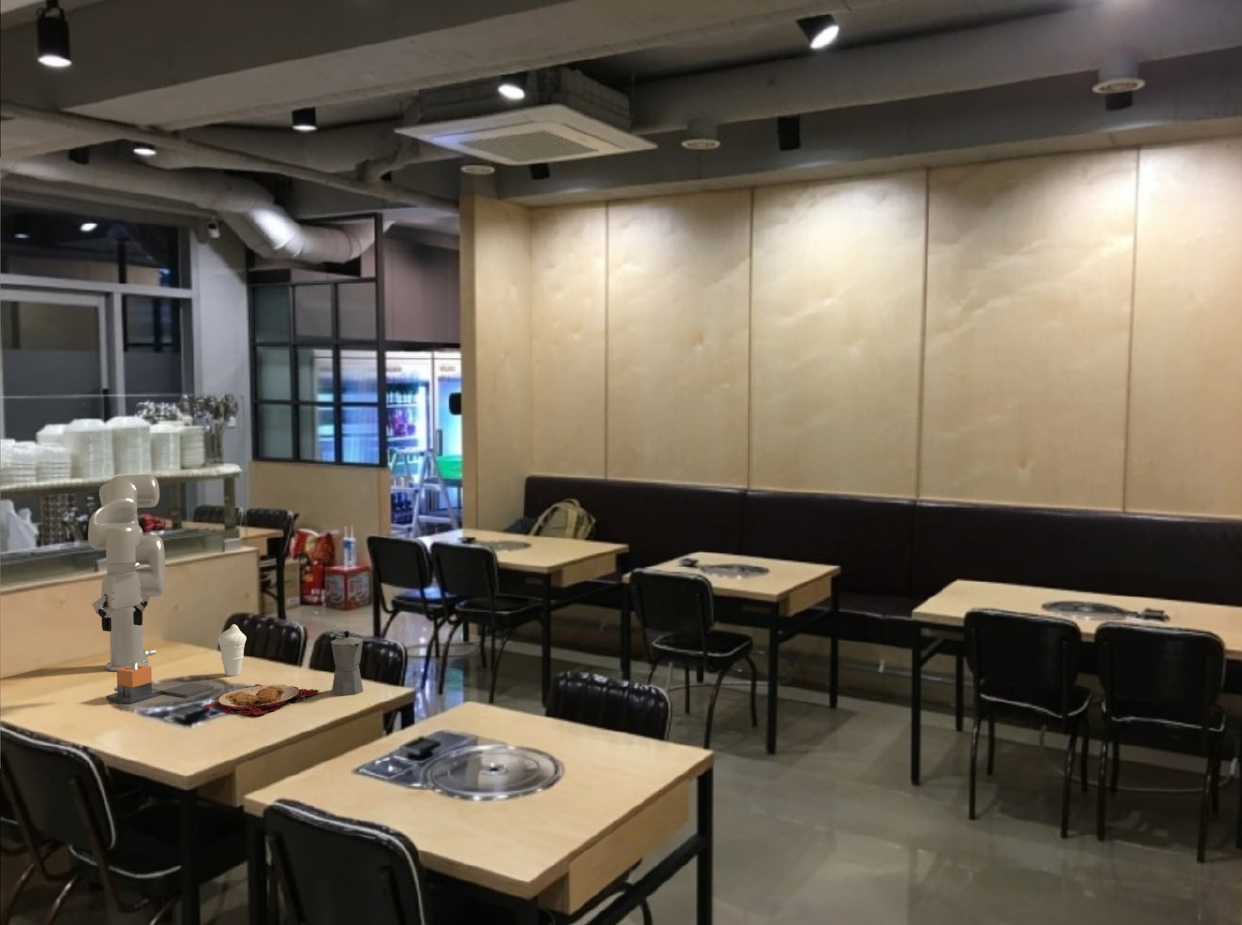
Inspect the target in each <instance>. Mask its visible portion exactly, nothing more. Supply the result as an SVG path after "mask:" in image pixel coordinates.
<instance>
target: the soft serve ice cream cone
mask: <svg viewBox="0 0 1242 925" xmlns="http://www.w3.org/2000/svg"><path fill="white" fill-rule="evenodd" d="M217 641H218V645H219V649H220V655H221V656H220V657H221V658H220V659H221V661H222V665H223V669H224V674H225V676H226V677H235V676H238V675H240V674H241V671H242V665H243V659H244V653H245V652H244V651H245V644H246V641H247V636H246V635H245V634H244V633H243V632H242V631H241V630H240V628H239V627H238V625H236V624H232V625H231V626H229V628H228V629H226V630H225V631H223V632H222V633H220V635H219V637H218V639H217Z"/></svg>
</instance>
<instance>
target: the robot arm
mask: <svg viewBox="0 0 1242 925" xmlns="http://www.w3.org/2000/svg"><path fill="white" fill-rule="evenodd" d="M98 491H99V494H98V495H99V500H100V504H101V506H100V507H99V508H98V509H96V511H94V512H93V513H92V515H91V517H90V518H89V522H88V532H87V534H88V535H87V539H88V544H89V545H90V547H91V548H92V549H94V550H99V551H100V550H106V551H105V552H106V555H105V556H106V557H105V558H106V574H103V577H102V578H103V579H102V583H101V592H100V597H99V598H98V599H97V600H96V601H94V602H93V603H92V605H91V606H92V607H93V609H94V610H95V613H96V614H97V615H98V616H99V617H100V618H101V628H102V630H101V631H103V632H109V646H110V647H109V649H110V651H109V652H110V653H109V654H110V657H109V658H110V661H109V662H108V663H106V664H105V669H106V670H107V671H114V672H115V671H116V672H117V669H120V668H124V667H128V666H130V663H132V662H138V665H143V666H148V665H149V659H147V658H148V657H151V656H155V655H156V652H157V651H156V650H155V649H148V650H147V649H144V642H143V641H144V640H143V638H144V637H143V636H144V634H143V632H144V631H143V620H144V619H143V618H144V616H143V614H144V613H143V612H144V611H145V609H146V607H147V606H148V604H149V602H150V601H149V600H150V599H151V598H158V597H161V596H162V595H164V593H165V591H166V564H165V563H166V561H165V560H166V556H165V555H166V554H165V545H164V541H163V539H162V537H160V536H159V535H155V534H153V535H151V534H150V535H149V534H148V535H144V531H143V528H142V527H141V525H139V524H140V523H139V520H138V518H137V516H135V515H136V514H137V511H138V509H140V508H154V507H155V506H157V505H158V504H159V501H160V484H159V481H158V480H157V478H156V477H155V476H153V475H151V474H121V475H116V476H114V477H112V478H111V479H109V481H108V482H107V483H105V484H103V485H102V486H100V488H99V490H98ZM140 565H142V566H143V565H146V566H149V567H148V568H139V567H140Z"/></svg>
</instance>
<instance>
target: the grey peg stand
mask: <svg viewBox="0 0 1242 925" xmlns="http://www.w3.org/2000/svg"><path fill="white" fill-rule="evenodd" d="M136 669H138V662H132V663H130V670H136ZM113 691H115V693H111V694H108V695H105V701H110V702H116V703H120V704H121V703H122V704H123V703H124V704H127V705H132V704H136V703H139V702H141V701H142V702H143V701H145V700H149V699H152V698H155V697H159V696H161V695H164V694H163V690H162V689H157V688H153V686H152V682H150V683H147V684H143V685H140V686H136V687H127V686H121V685H117V684H116V687H114V689H113Z"/></svg>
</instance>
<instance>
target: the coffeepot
mask: <svg viewBox="0 0 1242 925" xmlns="http://www.w3.org/2000/svg"><path fill="white" fill-rule="evenodd" d="M343 634H344V637H343V636H340V635H337V634H336V635H333V636H332V637H331V640H330V642H331V649H332V655H333V662H334V665H335V670H334V674H333V681H332V686H331V688H332V689H331V692H332V694H333V695H335V696H354V695H358V694H361V693H362V692H364V688H363V687H364V686H363V681H362V677H361V676H362V675H361V671H360V663H361V659H362V651H363V650H362V649H363V642H364V641H363V639H362V638H360V637H359V638H358V637H351V636H350V631H349V630H345V631H343Z"/></svg>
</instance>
